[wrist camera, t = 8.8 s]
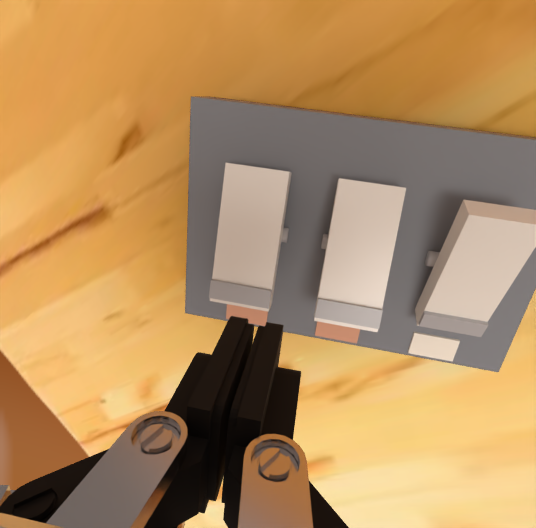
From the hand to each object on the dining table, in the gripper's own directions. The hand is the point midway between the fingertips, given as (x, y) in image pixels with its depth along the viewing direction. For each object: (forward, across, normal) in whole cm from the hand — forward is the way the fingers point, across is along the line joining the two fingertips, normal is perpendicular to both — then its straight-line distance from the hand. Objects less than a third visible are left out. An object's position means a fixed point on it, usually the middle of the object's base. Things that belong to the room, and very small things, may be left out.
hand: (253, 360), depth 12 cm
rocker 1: (+14, +3, +1) cm, 14 cm away
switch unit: (+20, -4, +1) cm, 20 cm away
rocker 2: (+14, -4, +1) cm, 14 cm away
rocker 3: (+14, -11, +1) cm, 18 cm away
